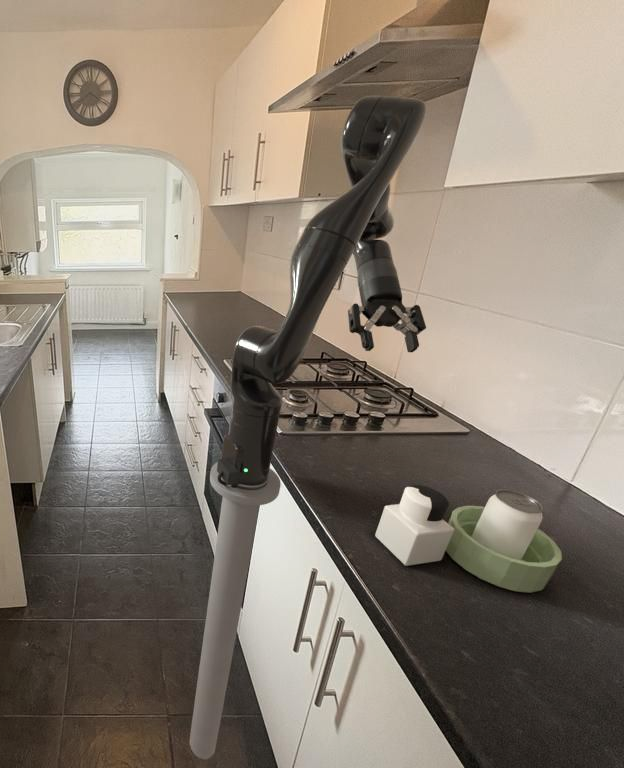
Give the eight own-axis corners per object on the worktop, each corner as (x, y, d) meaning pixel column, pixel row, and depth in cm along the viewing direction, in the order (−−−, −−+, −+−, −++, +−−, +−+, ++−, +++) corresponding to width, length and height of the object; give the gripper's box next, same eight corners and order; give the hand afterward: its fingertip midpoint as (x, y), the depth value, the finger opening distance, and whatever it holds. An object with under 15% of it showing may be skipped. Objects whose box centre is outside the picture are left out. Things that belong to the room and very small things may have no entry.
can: (458, 540, 74) (483, 485, 69) (500, 545, 72) (528, 490, 68) (480, 569, 68) (508, 511, 63) (526, 575, 67) (558, 517, 62)
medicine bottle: (407, 531, 77) (427, 477, 72) (442, 561, 70) (466, 505, 65) (373, 536, 75) (391, 482, 71) (405, 567, 69) (427, 510, 64)
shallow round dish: (500, 602, 63) (515, 573, 61) (421, 537, 75) (431, 511, 73) (568, 586, 66) (586, 558, 63) (481, 526, 78) (493, 500, 75)
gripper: (353, 273, 89) (364, 341, 83) (422, 274, 88) (439, 343, 82) (337, 293, 96) (347, 356, 90) (402, 294, 95) (416, 358, 89)
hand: (391, 350), depth 86 cm, fingers open, 8 cm apart
